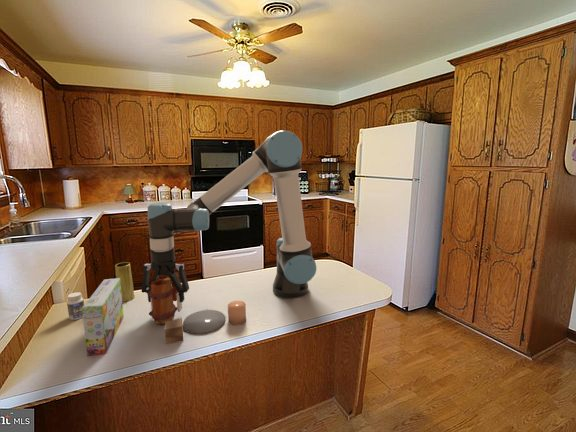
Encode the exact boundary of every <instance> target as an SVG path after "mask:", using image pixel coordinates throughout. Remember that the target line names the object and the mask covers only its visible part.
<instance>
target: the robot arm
mask: <svg viewBox="0 0 576 432" xmlns="http://www.w3.org/2000/svg"><path fill="white" fill-rule="evenodd" d="M302 155H303V143H302V141H301V140H300V138H299V136H298V135H296V134H295V133H294V132H292V131H289V130H278V131H275V132H273V133H271V134H270V135H268V136H267V137H266V138H265V140H264V141H263V142H262V143H261V144H260V145H259V146H258V147H257V148H256V149H255V150H253V151H252V154H251V156H250V157H249V158H248V159H246V160H245V161H244V162H243V163H241V164H240V165H239V166H237V167H236V168H235V169H234V170H232V171H231V172H230V173H228V174H227V175H226V176H224V178H222V179H221V180H220V181H219V182H217V183H216V184H214V185H213V186H212V187H211V188H209V189H208V190H207V191H206V192H204V193H202V195H201V196H199V197H198V198H197V199H195V200H194V201H192V202H191V203H189V204H188V206H187V207H186V208H179V209H178V208H173V207H172V204H171V203H169V202H155V203H151V204H149V205H148V206H147V218H146V219H147V224H148V233H149V249H150V259H151V260H150V261H151V263H148V262H147V263H144V265H142V267H141V268H142V271H143V272H142V273H143V275H142V281H141V283H142V284H141V292H142V293H146V294H147V293H148V292H150V290H151V283H152V282H153V281H156V280H158V279H160V278H159V277H160V276H166V277H167V276H168V277H169V278H170V279H171V281H172V282H173V284H174V286H175V288H176V289H177V291H178V293H177V301H176V307H177V312H178V313H180V312H181V311H182V309H183V302H184V301H185V293H187V292H188V291H189V290H190V285H189V281H188V278H187V275H186V270H185V266H186V264H185V263H183V262H182V263H177V261H176V252H175V248H174V247H175V238H174V237H175V236H174V232H200V231H207V230H209V228H210V215H212V214H213V213H214V212H215V211H217V210H218V209H219V208H220V207H221V206H223V205H224V204H225V203H227V202H229V200H230V199H232V198H233V197H235V196H236V195H237V194H238V193H239V192H241V191H242V190H243V189H245V188H246V187H247V186H248V185H249V184H251V183H252V182H253V181H255V180H257V178H259V177H260V176H262V175H263V173H268V174H269V175H270V176H272V178H273V182H274V188H275V197H276V203H277V204H276V205H277V211H278V218H279V224H280V231H281V237H279V238H278V239H277V240H276V244H275V246H276V274H275V277H274V281H273V284H272V292H273V294H274V295H276V296H278V297H281V298H287V299H295V298H300V297H304V296H305V295H307V294H308V292H309V283H308V282H310V281H312V279H313V278H314V277H315V275H316V273H317V264H316V261H315V258H313V252H312V251H313V250H312V244H311V243H312V242H310V241H308V240H307V236H306V229H305V228H306V227H305V219H304V211H303V202H302V195H301V187H300V181H299V180H300V179H299V173H300V172H301V171H302V169H303V168H302V160H301V157H302ZM151 269H152V270H153V272H154V273H153V274H152V275H153V276H152V279H151V281H150V275H151ZM175 269H177V271H178V276H179V279H180V281H179V279H178V277H177V275H176V273H177V272H176V270H175ZM147 300H148V303H150V308H151V311H152V309H153V307H152V298H151V297H150V296H149V295H147Z"/></svg>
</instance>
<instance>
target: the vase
mask: <svg viewBox="0 0 576 432" xmlns="http://www.w3.org/2000/svg"><path fill="white" fill-rule="evenodd" d="M131 267H132V266H131V262H127V261H124V262H123V261H122V262H119V263H116V264H115V265H114V269H115V278H120V282H121V294H122V303H123V302H129V301H131V300H133V299H134V298H135V292H134V283H133V276H132V268H131Z"/></svg>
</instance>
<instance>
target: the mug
mask: <svg viewBox="0 0 576 432" xmlns="http://www.w3.org/2000/svg"><path fill="white" fill-rule="evenodd" d="M176 275H177V277H178V279H179V281H180V282H181V280H180V276H179V273H177V272H176ZM150 283H151V282H150ZM177 293H178V291H177V289H176V288H175V286H174V284H173V282H172V281H171V279H170V278H169V277H168V276H166V278H163V279H161V278H158V280H156V281H153V282H152V283H151V290H150V292H148V293H146V294H147V296H148V295H149V296H150V297H151V298H152V307H153V309H152V310H151V311H149V312H148V315H149V316H151V318H152V319H153V322H154V323H155V324H165V321H169V320H174V318H175V315H176V312H178V310H177V305H175V304H174V302H177Z"/></svg>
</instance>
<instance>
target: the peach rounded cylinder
mask: <svg viewBox="0 0 576 432" xmlns="http://www.w3.org/2000/svg"><path fill="white" fill-rule="evenodd" d="M246 308H247V307H246V302H245V301H243V300H232V301H231V302H229V303H228V304H227V318H228V324H229V325H232V326H241V325H243V324H245V323H246V321H247V312H246V311H247V309H246Z"/></svg>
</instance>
